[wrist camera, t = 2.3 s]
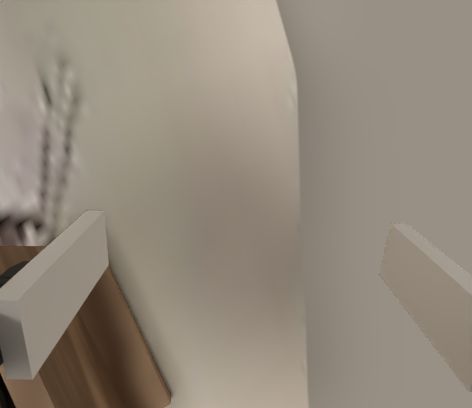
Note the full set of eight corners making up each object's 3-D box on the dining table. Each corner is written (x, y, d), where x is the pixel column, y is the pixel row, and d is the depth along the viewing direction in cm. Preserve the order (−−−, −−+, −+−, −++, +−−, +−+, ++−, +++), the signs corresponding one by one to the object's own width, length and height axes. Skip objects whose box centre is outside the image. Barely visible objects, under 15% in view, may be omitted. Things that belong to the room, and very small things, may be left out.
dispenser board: (108, 433, 35) (62, 553, 21) (27, 259, 36) (-68, 266, 22) (170, 396, 36) (165, 487, 23) (91, 229, 37) (39, 219, 23)
